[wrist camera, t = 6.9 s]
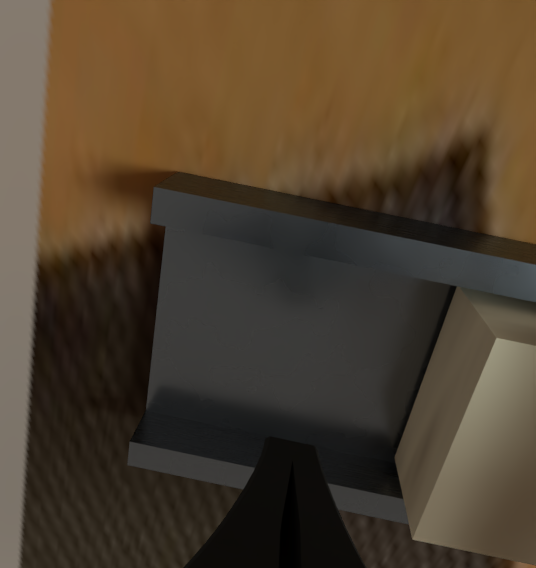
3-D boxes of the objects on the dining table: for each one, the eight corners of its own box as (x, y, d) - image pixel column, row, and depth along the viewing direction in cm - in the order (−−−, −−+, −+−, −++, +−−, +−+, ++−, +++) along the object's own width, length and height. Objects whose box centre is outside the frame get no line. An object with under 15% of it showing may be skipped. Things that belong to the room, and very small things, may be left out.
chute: (658, 269, 18) (722, 302, 15) (536, 499, 22) (568, 557, 19) (178, 171, 18) (153, 186, 15) (150, 418, 22) (127, 465, 20)
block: (623, 318, 17) (708, 381, 14) (535, 487, 20) (584, 576, 17) (457, 284, 17) (496, 337, 14) (394, 457, 20) (412, 539, 17)
